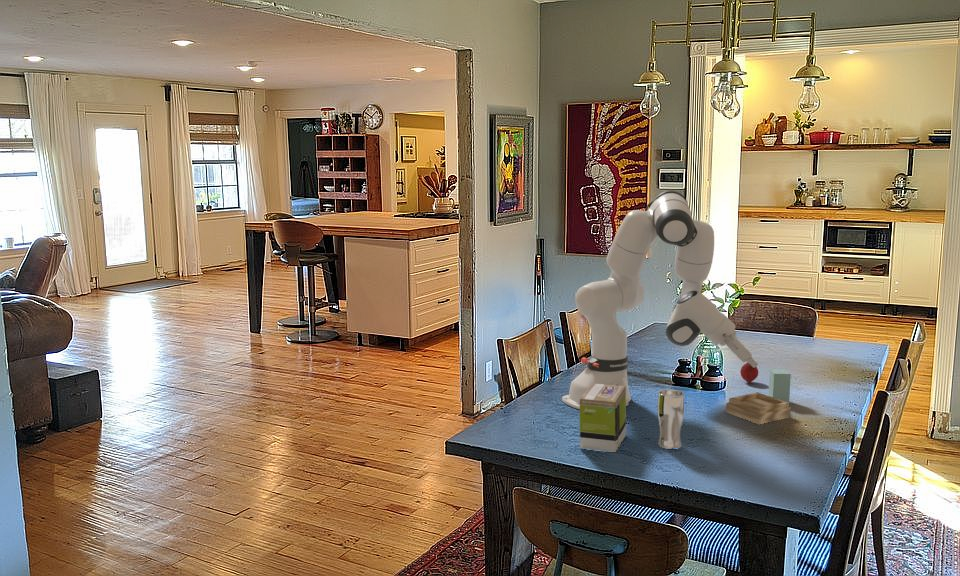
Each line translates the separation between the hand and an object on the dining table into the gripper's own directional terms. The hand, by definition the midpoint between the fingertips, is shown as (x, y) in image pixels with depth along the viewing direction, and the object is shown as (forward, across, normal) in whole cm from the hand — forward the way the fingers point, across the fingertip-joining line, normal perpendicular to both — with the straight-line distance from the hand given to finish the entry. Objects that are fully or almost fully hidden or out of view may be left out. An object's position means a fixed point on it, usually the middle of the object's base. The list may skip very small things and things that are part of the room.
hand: (752, 361), depth 247 cm
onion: (+12, +22, +6) cm, 26 cm away
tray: (+9, -12, +10) cm, 18 cm away
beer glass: (-12, -40, +31) cm, 52 cm away
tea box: (-24, -39, +43) cm, 63 cm away
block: (+15, 0, +3) cm, 16 cm away
